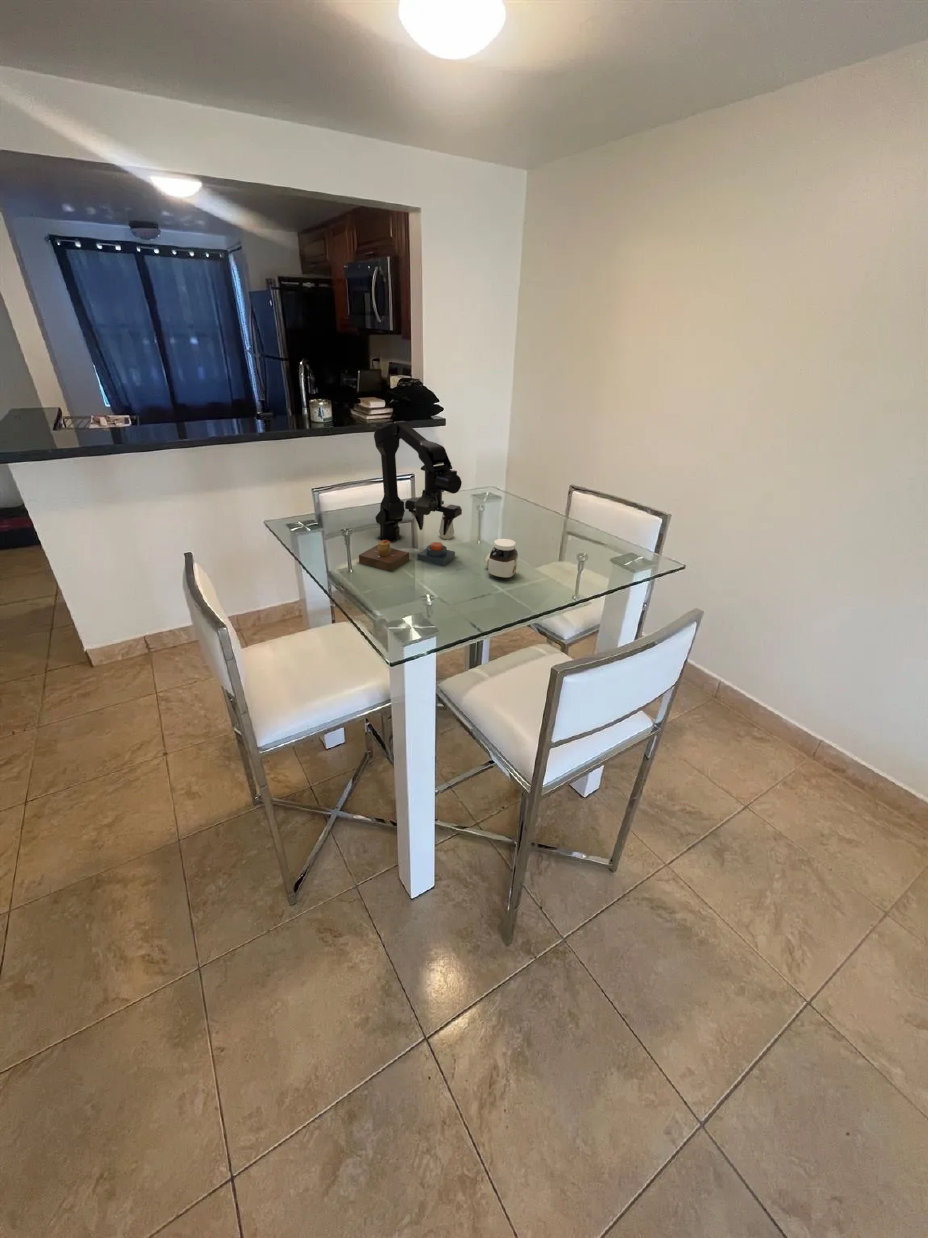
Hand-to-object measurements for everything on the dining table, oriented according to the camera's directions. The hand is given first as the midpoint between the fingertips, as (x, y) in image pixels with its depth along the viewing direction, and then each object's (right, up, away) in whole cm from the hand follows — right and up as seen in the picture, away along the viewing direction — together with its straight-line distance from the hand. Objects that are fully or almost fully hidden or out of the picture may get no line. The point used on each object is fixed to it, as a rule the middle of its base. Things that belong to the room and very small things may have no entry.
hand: (432, 532), depth 172 cm
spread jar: (+22, -14, -3) cm, 26 cm away
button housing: (+1, -8, +5) cm, 10 cm away
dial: (-16, -7, -1) cm, 18 cm away
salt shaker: (+4, +2, +24) cm, 24 cm away
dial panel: (-16, -10, +1) cm, 19 cm away
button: (+1, -5, +4) cm, 6 cm away
